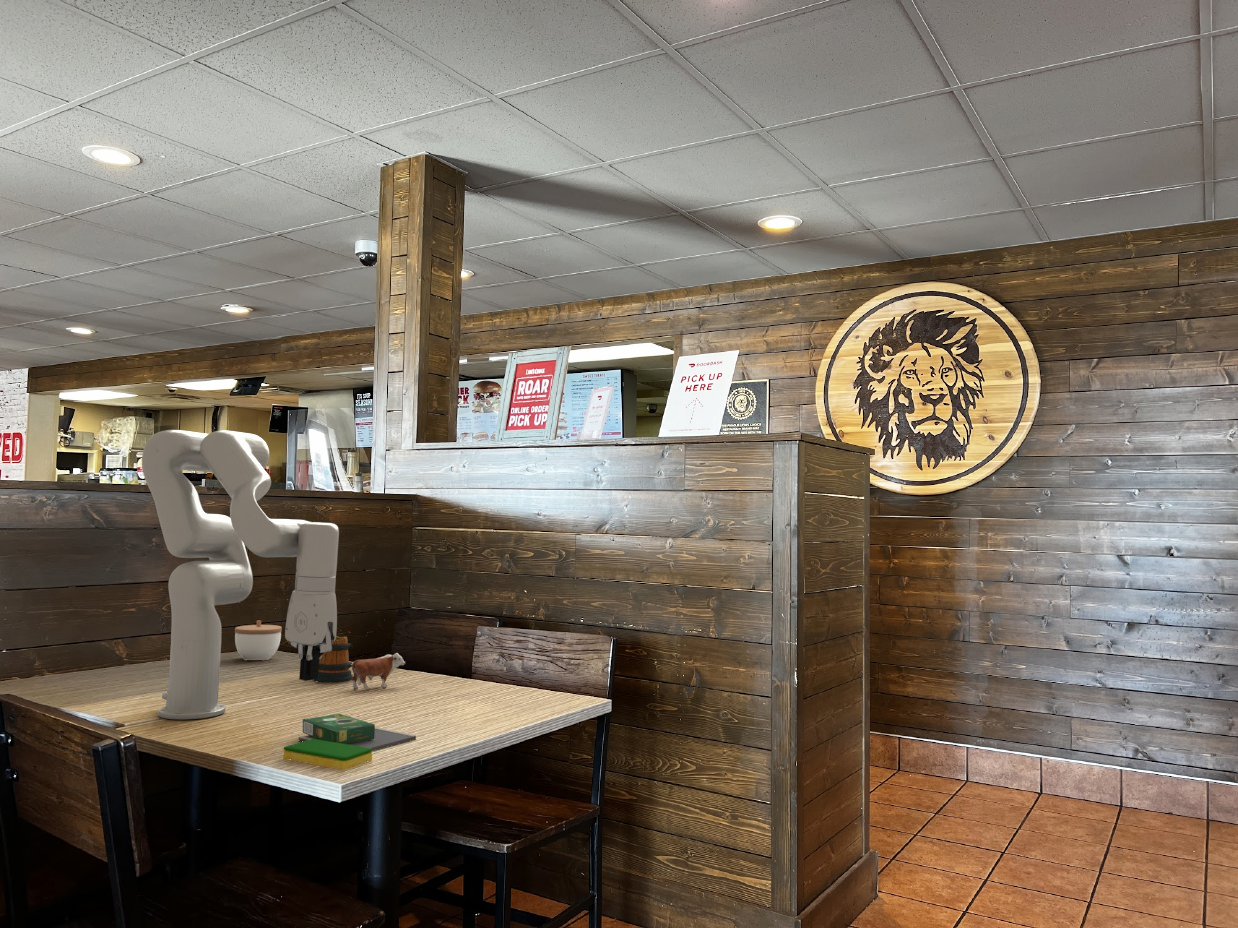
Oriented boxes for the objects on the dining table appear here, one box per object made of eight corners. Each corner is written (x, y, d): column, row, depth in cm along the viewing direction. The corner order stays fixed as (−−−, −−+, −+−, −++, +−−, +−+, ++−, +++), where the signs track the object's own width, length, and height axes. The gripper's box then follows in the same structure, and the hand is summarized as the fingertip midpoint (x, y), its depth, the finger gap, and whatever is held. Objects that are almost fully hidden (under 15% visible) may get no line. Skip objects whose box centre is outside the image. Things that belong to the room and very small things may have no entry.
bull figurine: (406, 686, 220) (407, 653, 220) (353, 691, 212) (354, 657, 212) (399, 683, 223) (400, 651, 224) (346, 688, 215) (348, 654, 216)
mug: (361, 680, 227) (363, 634, 228) (324, 684, 220) (326, 637, 220) (336, 673, 236) (338, 629, 237) (299, 677, 229) (301, 632, 229)
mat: (298, 740, 164) (298, 736, 164) (357, 727, 176) (357, 723, 176) (358, 754, 155) (358, 750, 155) (415, 739, 167) (415, 735, 167)
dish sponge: (343, 772, 146) (344, 757, 146) (281, 760, 152) (282, 746, 152) (373, 762, 152) (373, 748, 153) (312, 751, 158) (312, 737, 158)
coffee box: (300, 734, 167) (336, 746, 158) (300, 718, 167) (337, 730, 158) (338, 727, 173) (376, 739, 164) (339, 712, 173) (376, 723, 164)
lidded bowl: (288, 656, 262) (289, 618, 263) (267, 663, 249) (269, 623, 250) (247, 654, 263) (249, 617, 264) (224, 661, 251) (226, 622, 251)
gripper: (274, 582, 175) (267, 676, 174) (325, 589, 167) (318, 687, 166) (306, 581, 181) (299, 671, 180) (356, 587, 173) (349, 682, 172)
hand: (308, 679), depth 173 cm, fingers closed
